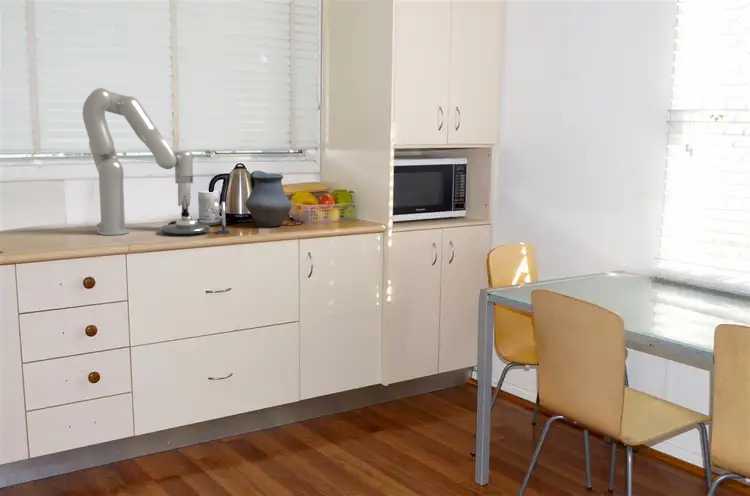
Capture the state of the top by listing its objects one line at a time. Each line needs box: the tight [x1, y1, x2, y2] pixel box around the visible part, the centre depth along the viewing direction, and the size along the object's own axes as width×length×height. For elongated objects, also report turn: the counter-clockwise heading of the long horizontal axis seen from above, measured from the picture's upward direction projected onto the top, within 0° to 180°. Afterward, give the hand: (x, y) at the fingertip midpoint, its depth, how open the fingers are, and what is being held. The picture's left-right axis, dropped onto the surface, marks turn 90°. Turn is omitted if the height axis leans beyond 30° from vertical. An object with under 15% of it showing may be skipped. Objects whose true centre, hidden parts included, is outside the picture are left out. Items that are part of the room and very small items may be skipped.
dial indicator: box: [208, 201, 231, 235], centre depth 327 cm, size 9×5×14 cm, turn 97°
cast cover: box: [175, 215, 199, 229], centre depth 325 cm, size 9×9×5 cm
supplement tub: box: [197, 189, 221, 224], centre depth 357 cm, size 10×10×15 cm
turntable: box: [160, 223, 211, 235], centre depth 326 cm, size 20×20×2 cm
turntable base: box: [176, 233, 198, 236], centre depth 326 cm, size 10×10×1 cm
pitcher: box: [244, 170, 292, 228], centre depth 348 cm, size 21×22×25 cm
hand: (185, 221), depth 334 cm, fingers closed
